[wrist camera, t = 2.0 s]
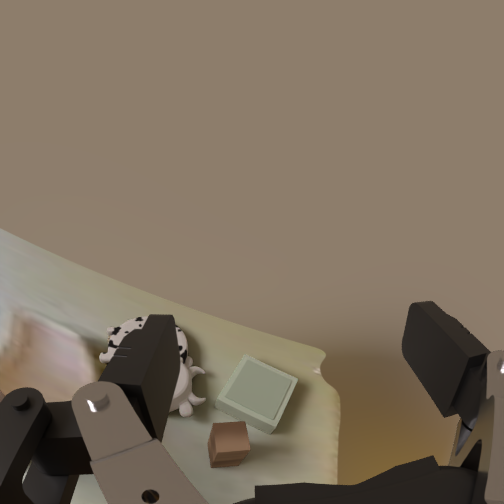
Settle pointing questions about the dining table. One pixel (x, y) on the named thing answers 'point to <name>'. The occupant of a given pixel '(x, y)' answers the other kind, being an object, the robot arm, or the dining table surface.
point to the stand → (256, 394)
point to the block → (228, 444)
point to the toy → (187, 372)
